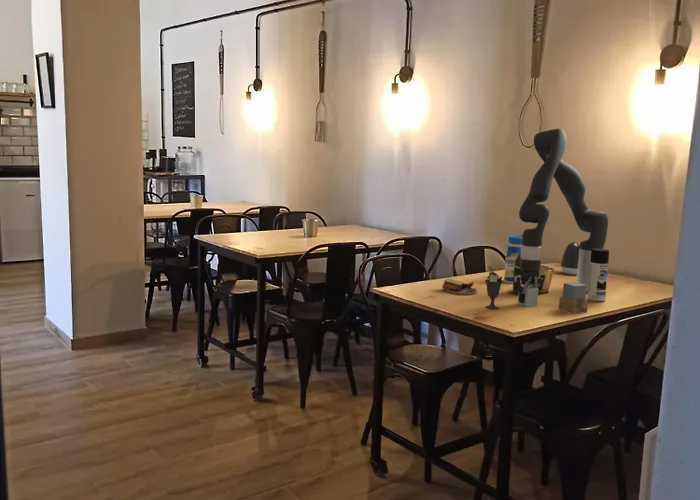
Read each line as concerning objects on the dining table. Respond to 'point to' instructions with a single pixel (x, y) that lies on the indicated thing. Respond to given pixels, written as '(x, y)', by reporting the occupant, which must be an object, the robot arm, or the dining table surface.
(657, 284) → the dining table surface
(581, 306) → the plinth
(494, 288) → the sundae
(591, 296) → the spray can
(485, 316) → the dining table surface
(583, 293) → the cube
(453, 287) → the toy sandwich meal
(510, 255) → the beverage bottle
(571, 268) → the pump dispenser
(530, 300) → the block
